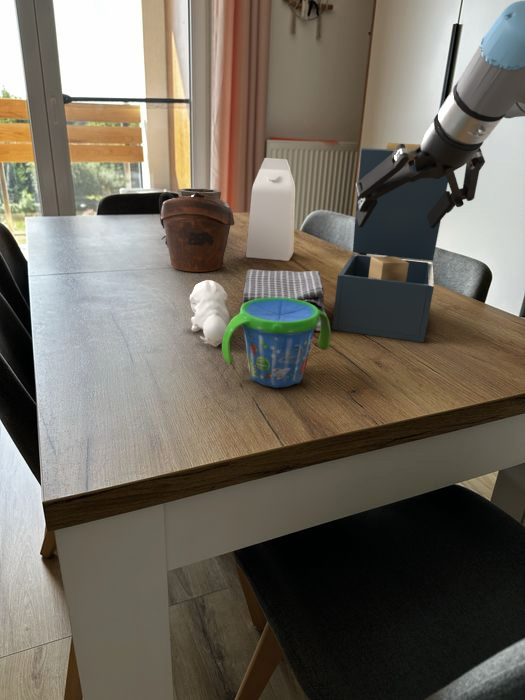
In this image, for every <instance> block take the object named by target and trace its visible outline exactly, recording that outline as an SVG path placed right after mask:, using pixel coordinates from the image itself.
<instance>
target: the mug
mask: <svg viewBox="0 0 525 700" xmlns="http://www.w3.org/2000/svg"><path fill="white" fill-rule="evenodd" d="M177 193H178V194H177V195H178V197H184V196H192V195H194V194H196V193H199V194H201V195H207V196H211V197H215V198H218V199H220V200H221V195H222V191H221V190H218V189H211V188H198V187H197V188H194V187H193V188H192V187H190V188H178V189H177ZM166 196H167V197H169V198H170V199H173V198H176V197H175V196H174V195H173V194H172V193H170V192H168V191H165V192H163V193H161V194H159V198H158V208H159V217H160V216H161V209H162V205H163V199H164V197H166ZM163 220H164V219H162V220H160V224H161V227H162V229H164V230H165V228H164V224H163Z"/></svg>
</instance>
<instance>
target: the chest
mask: <svg viewBox="0 0 525 700" xmlns="http://www.w3.org/2000/svg"><path fill="white" fill-rule="evenodd" d="M371 257H379V255H369V254H360V253H352V254H351V255H350V257H349V258H348V260H347V261H346V263H345V264H344V266H343V267H342V269H341V270H340V271H339V273H338V275H337V279H336V289H335V298H334V307H333V317H332V325H331V326H332V327H331V330H333V331H340V332H347V333H353V334H361V335H368V336H375V337H381V338H382V337H383V338H389V339H395V340H401V341H408V342H409V341H411V342H418V343H422V344H423V343H425V339H426V333H427V327H428V322H429V316H430V311H431V306H432V300H433V293H434V289H435V281H434V279H435V278H434V264H433V262H432V261H426V260H417V259H407V258H401V259H402V260H404V261H406V262H408V263H409V265H408V272H407V278H406V282H402V281H393V280H385V279H376V278H368V277H369V269H370V261H371Z"/></svg>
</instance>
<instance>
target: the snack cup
mask: <svg viewBox="0 0 525 700" xmlns="http://www.w3.org/2000/svg"><path fill="white" fill-rule="evenodd" d="M326 315H327V314H326ZM326 315H325V314H324V313H323V312H321V311H320V310H318V308H317V307H315V306H314V305H312V304H310V303H307V302H304V301H301V300H296V299H290V298H260V299H255V300H251V301H248V302H246V303H244V304H243V305H242V304H241V306H240V310H239V313H238V314H236V315H235V316H234V317H233V318H231V320H229V323H228V324H227V328H226V331H225V333H224V336H223V341H222V343H221V352H222V356H223V358H224V360H225V362H226V363H227V364H228V365H232V364H233V360H232V352H231V351H232V350H231V339H232V336H233V334H234V333H235V332H236V331H237V330H238V329H239V327H240V326H242V329H243V333H244V342H245V349H246V358H247V367H248V372H249V376H250V378H251V380H252V381H253V382H256V383H258V384H260V385H263V386H265V387H271V388H275V389H278V388H287V387H290V386H293V385H297V384H300V383H301V381H302V379H303V378H304V376H305V372H306V369H307V364H308V361H309V355H310V352H311V347H312V343H313V339H314V332H315V330H314V329H315V327H316V326H317V324H318V322H319V316H320V317H321V326H320V331H319V336H318V341H317V344H318V347H319V349H321V350H323V351H326V350H328V349H329V347H330V345H331V339H332V338H331V337H332V335H331V333H332V332H331V324H330V323H331V322H330V320H329V317H328V315H327V316H326Z"/></svg>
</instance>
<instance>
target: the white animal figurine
mask: <svg viewBox="0 0 525 700" xmlns="http://www.w3.org/2000/svg"><path fill="white" fill-rule="evenodd" d="M224 289H225V288H224V287H223V286H222V285H221V284H219V283H218V282H216V281H214V280H209V279H206V280H203V281H201V282H199V283H197V284H195V285H194V288H193V290H192V291H191V293H190V295H189V302H190V308H191V311H192V312H193V314H194V315H193V316H191V319H190V322H191V324H192V326H191V331H192V332H194V333H195V332H199V331H200V330H202V332H203V336H202V335H199V337H200V339H201V340H203V342H204V344H210V345H211V346H213V347H214V348H217V347H218V346H219V345H221V344H222V341H223V336H224V333H225V331H226V328H227V326H228V324H229V323H230V313H229V310H227V306H226V301H227V300H228V294H227V293H226V291H225V290H224Z"/></svg>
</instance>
